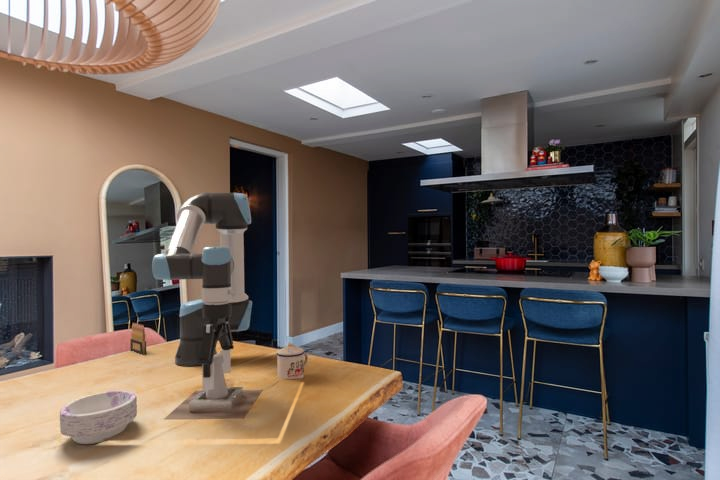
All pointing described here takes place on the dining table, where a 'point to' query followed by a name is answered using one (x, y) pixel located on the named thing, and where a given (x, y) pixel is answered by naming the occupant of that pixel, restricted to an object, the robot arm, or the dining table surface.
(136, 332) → the brown flat upright block
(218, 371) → the salt shaker
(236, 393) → the metal collar
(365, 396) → the dining table surface
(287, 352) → the teacup with lid
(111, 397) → the paper bowls
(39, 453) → the dining table surface
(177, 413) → the walnut board
